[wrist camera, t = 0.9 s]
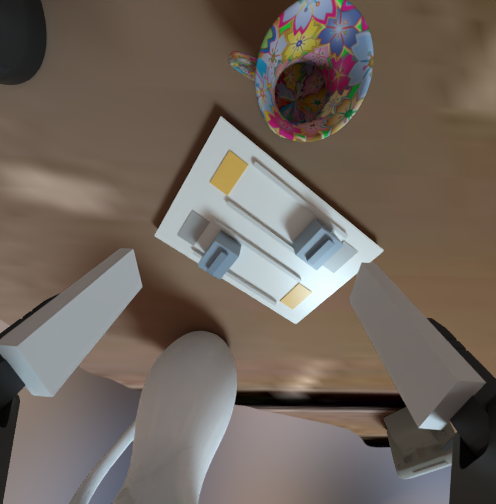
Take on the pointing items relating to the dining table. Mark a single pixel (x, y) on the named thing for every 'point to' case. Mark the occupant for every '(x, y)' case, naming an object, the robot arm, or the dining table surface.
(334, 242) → the tab
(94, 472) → the pitcher
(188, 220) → the switch board
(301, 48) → the mug
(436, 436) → the digital clock
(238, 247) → the tab
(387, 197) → the dining table surface
